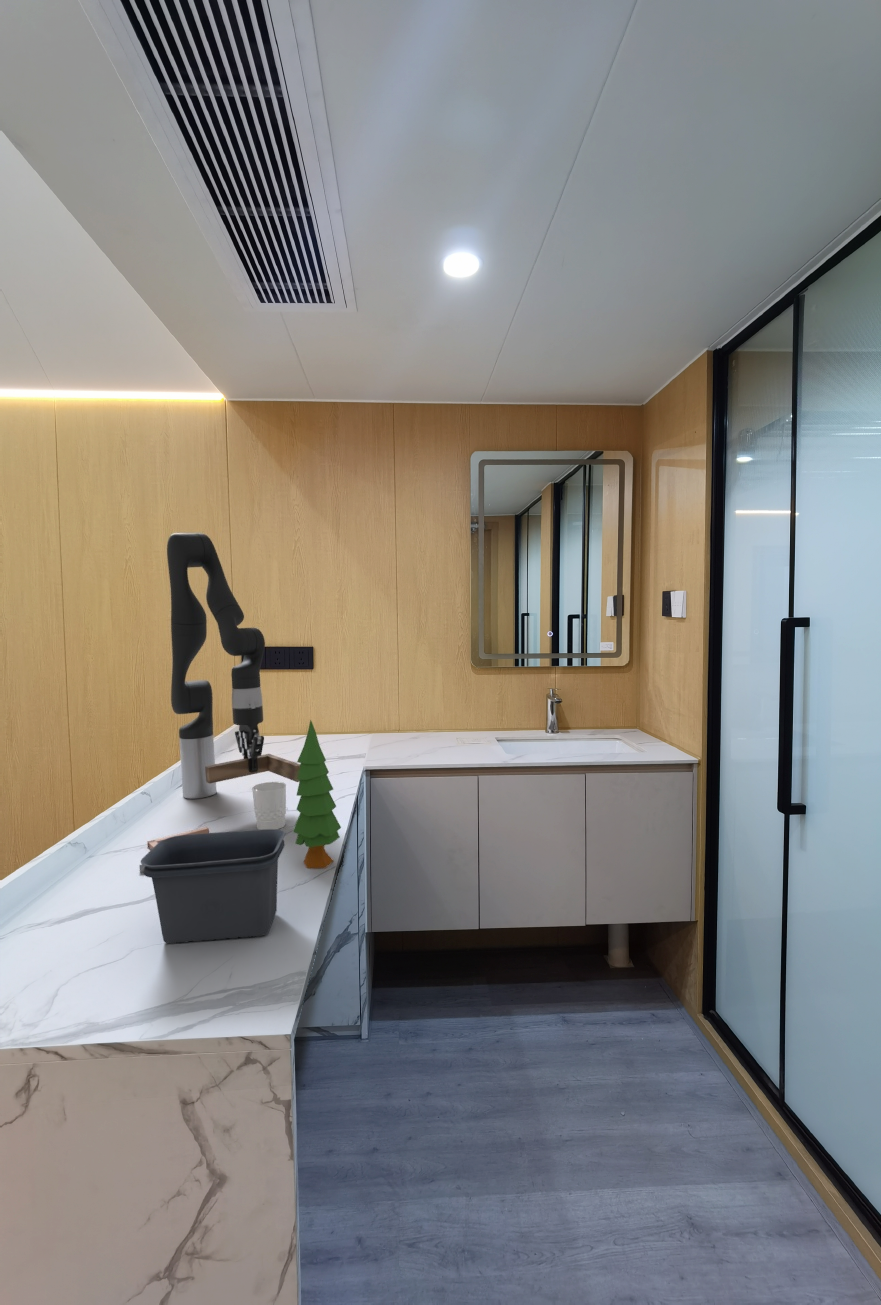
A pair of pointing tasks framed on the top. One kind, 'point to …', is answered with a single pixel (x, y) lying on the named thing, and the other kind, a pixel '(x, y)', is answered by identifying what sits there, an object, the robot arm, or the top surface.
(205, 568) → the robot arm
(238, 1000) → the top surface
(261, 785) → the white cup
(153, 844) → the corral frame
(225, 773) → the wooden l-shaped bracket
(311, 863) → the decorative tree
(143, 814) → the top surface
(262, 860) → the storage bin
